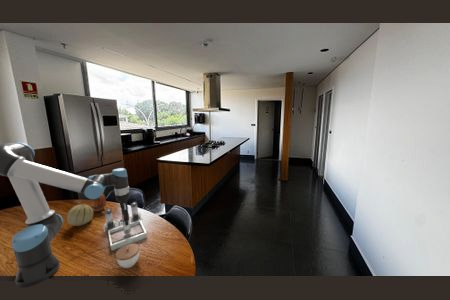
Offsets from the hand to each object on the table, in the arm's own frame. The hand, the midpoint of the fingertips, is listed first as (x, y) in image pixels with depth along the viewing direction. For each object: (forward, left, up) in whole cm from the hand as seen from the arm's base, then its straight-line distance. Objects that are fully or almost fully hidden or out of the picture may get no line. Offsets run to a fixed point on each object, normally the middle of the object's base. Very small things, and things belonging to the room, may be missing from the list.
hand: (126, 227), depth 116 cm
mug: (+50, +12, -7) cm, 52 cm away
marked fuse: (0, 0, -3) cm, 3 cm away
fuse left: (+17, +8, -5) cm, 19 cm away
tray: (0, 0, -6) cm, 6 cm away
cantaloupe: (+35, +24, -7) cm, 43 cm away
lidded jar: (-25, +3, -7) cm, 26 cm away
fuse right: (+17, -8, -5) cm, 19 cm away
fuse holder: (+17, 0, -6) cm, 18 cm away
